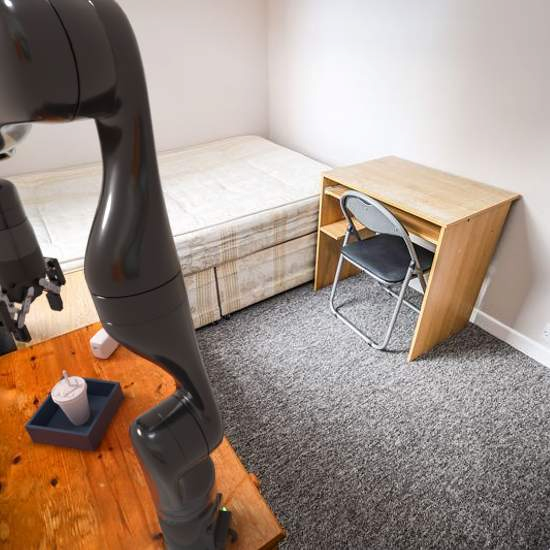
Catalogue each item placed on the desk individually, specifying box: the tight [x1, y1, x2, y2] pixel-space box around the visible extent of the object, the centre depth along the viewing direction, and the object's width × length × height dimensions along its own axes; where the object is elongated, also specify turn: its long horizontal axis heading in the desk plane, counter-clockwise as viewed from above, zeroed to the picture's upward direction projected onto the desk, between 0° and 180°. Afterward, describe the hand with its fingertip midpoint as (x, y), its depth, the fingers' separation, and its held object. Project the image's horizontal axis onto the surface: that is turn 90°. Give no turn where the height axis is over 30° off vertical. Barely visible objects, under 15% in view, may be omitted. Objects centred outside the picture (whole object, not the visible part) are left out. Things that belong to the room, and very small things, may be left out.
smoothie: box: [50, 369, 90, 425], centre depth 79 cm, size 6×6×14 cm
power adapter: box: [89, 327, 119, 360], centre depth 100 cm, size 11×5×6 cm, turn 164°
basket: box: [23, 374, 125, 452], centre depth 81 cm, size 13×13×5 cm
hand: (42, 324), depth 69 cm, fingers open, 8 cm apart
